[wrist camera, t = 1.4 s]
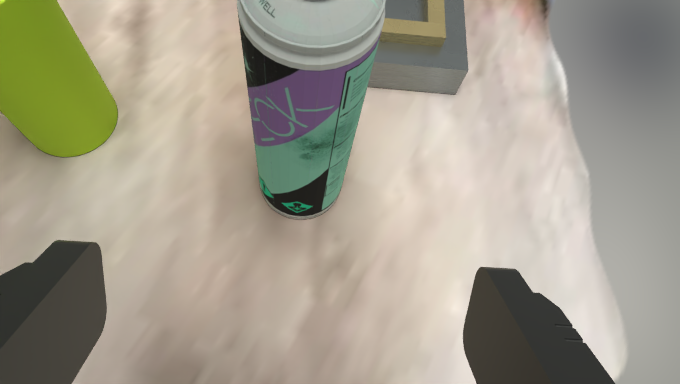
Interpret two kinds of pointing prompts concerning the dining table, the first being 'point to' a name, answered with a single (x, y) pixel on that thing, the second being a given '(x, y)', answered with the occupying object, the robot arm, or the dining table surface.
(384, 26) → the grey and tan frame
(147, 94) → the dining table surface
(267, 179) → the spray can
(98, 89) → the soap dispenser
